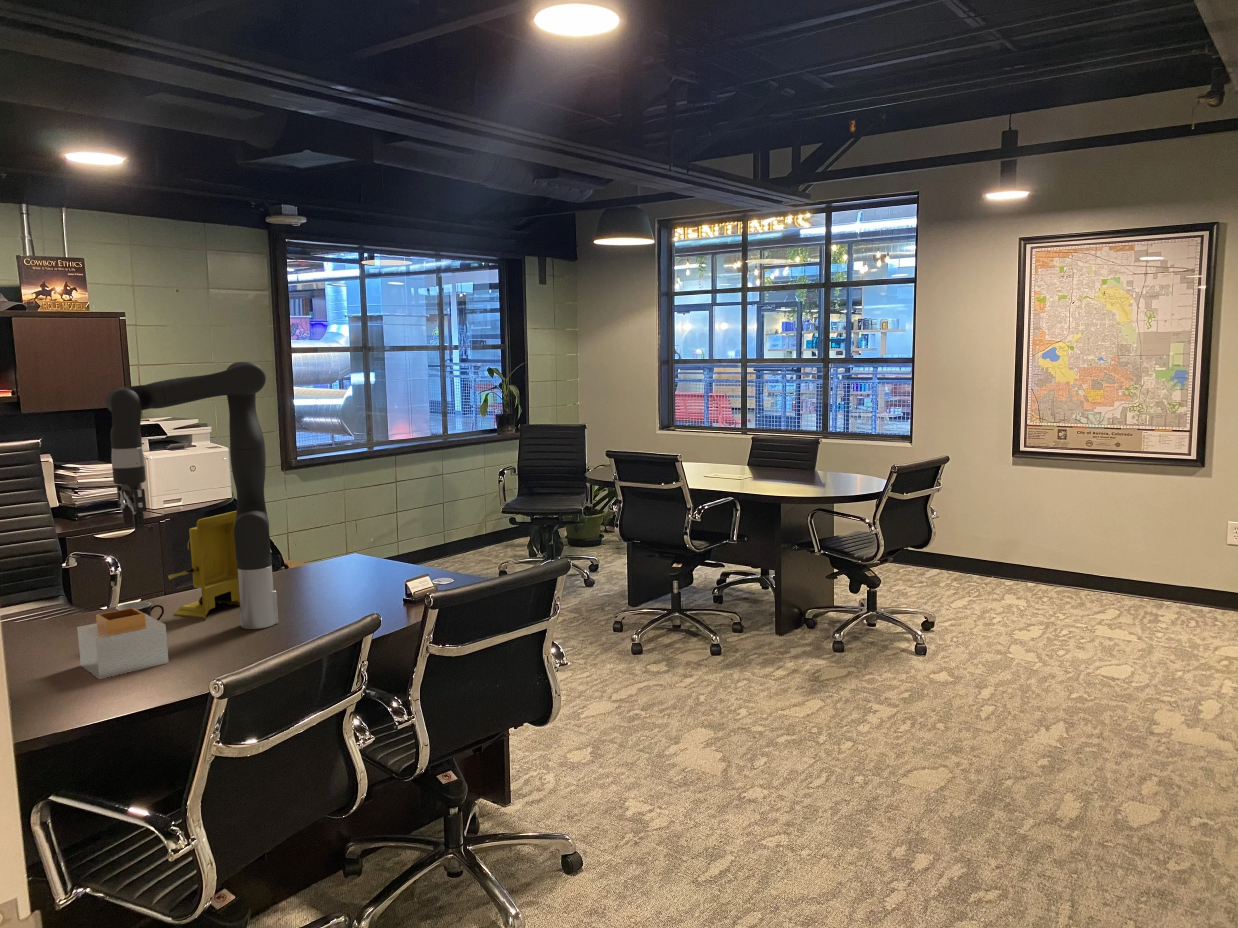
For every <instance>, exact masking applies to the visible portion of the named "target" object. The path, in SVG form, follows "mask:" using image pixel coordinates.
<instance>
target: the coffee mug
mask: <svg viewBox="0 0 1238 928" xmlns="http://www.w3.org/2000/svg"><path fill="white" fill-rule="evenodd" d="M128 608H135V609H137V610H139V611H140V612H142V613H144V614H147V615H149V616H150V617H152V611H153V610H154V609H155V608H160V610H161V613H160V615H159V616H158V617H157V618H156V620H158V621H160V620H161V618H162V617H163V615H164V613H165V608H164V607H163V606H162V605H160V604H154V605H153V606H152V602H149V601H133V602H132V601H131V602H127V603H123V604H119V605H118V606H115V611H118V610H123V609H128Z"/></svg>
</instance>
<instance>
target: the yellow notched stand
mask: <svg viewBox="0 0 1238 928" xmlns="http://www.w3.org/2000/svg"><path fill="white" fill-rule="evenodd" d="M236 514H237V510H234V511H230V512H225V513H221V514H217V515H213V516H209V517H208V516H207V517H203V518H200V519H198V520H197V521H196V526H195V527H191V528H189V530H188V531H189V532H188V533H189V540H188V542H187V549H188V550H187V551H188V552H189V554H190V556H191V557H190V558H191V568H190V569H187V570H183V571H181V572H178V573H173V574H172V573H171V574H169V575H168V580H172V579H174V578H177V577H179V576H180V577H181V576H185V575H189V574H190V573H192V583H193V585H192V586H193V588H194V589H195V588H196V589H201V597H200V598H199V600H196V601H194V602H192V603H191V602H190V603H188V604H185V605H181V606H180V607H179V608H178V610H176V611H175V612H174V613H173V615H174V616H181V617H189V618H198V619H203V621H205V620H206V621H207V614H208V613H209V611H210V610H212V609H214V608H216V604H222V603H228V604H227V605H232V604H234V606H240V601H239V586H238V572H237V561H236V552H235V540H234V525H235V521H236ZM216 602H218V603H216ZM219 602H220V603H219ZM235 604H236V605H235Z"/></svg>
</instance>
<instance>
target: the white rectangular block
mask: <svg viewBox="0 0 1238 928" xmlns="http://www.w3.org/2000/svg"><path fill="white" fill-rule="evenodd" d="M95 619H96V620H95V621H96V623H92V624H87V625H80V626H77V627H76V628H77V639H78V641H77V642H78V651H79V660H80V662H79V663H80V666H81V667H82V668H83V667H84V669H85V670H86V671H88V673H90V672H91V673H92V674H91V673H90V674H91V675H92V676H94V677H95V676H96V677H95V678H97V679H98V680H103V679H107V677H108V678H111V676H112V677H115V675H116V676H120V675H124V674H127V672H129V673H132V671H133V672H136V671H141V670H145V669H150V668H154V667H156V666H161V665H166V664H169V652H168V639H167V638H168V637H167V636H168V635H167V626H166V624H165V623H163V622H162V621H160V620H159V621H158V620H157V618H154V617H152V616H151V617H150V616H149V615H147V614H144V613H142V612H140V611H139V610H137V609H135V608H128V609H123V610H118V611H116V610H114V611H109V612H103V613H98V614H96V615H95ZM123 673H124V674H123ZM119 674H120V675H119Z"/></svg>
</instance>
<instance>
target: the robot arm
mask: <svg viewBox="0 0 1238 928" xmlns="http://www.w3.org/2000/svg"><path fill="white" fill-rule="evenodd" d="M266 379H267V377H266V373H265V371H264V370H263V368H262V367H261V366H259V365H258V364H256V363H254V362H251V361H237V362H233V363H231V364H230V365H229V366H228V367H227V368H226V369H225V370H222V371H218V372H215V373H214V372H213V373H208V374H203V375H193V376H186V377H185V376H183V377H177V378H176V377H175V378H169V379H164V380H159V381H154V382H151V383H147V384H141V385H140V384H139V385H134V386H133V385H131V386H123V387H119V388H115V389H113V390H111V391H109V393H107V395H106V397H105V406H106V408H107V410H109V411H110V412H111V419H112V420H111V423H112V427H111V429H110V444H111V457H110V458H111V468H112V470H111V471H112V479H113V481H112V482H113V484H115V485H117V486H116V492H117V493H116V494H117V506H118V508H120V511H122V512H121V513H122V514H121V515H122V523H123V525H127V526H128V525H132V524H133V527H134V528H135V529H144V527H145V519H144V514H145V513H146V512H147V509H148V508H147V502H146V493H145V492H146V490H145V488H140V485H139V484H142V483H145V482H146V480H147V477H146V476H147V475H146V465H145V455H144V454H145V453H144V450H143V442H142V433H141V423H142V422H141V421H142V419H141V418H142V411H146V410H150V409H152V410H153V409H154V410H155V409H164V408H169V407H174V406H179V405H183V404H187V403H192V402H196V401H199V400H204V399H210V398H215V397H222V396H226V400H227V404H228V412H229V413H228V414H229V416H228V418H229V420H228V421H229V424H228V425H229V426H228V427H229V429H228V430H229V451H230V452H229V453H230V454H229V455H230V457H229V458H230V465H231V471H232V472H231V473H232V477H233V482H234V485H235V490H236V511H237V514H236V521H235V525H234V540H235V552H236V561H237V572H238V586H239V601H240V605H239V612H240V613H239V615H240V625H241V628H242V629H244V630H246V629H247V630H257V629H265V628H268V627H269V628H270V627H272V626H274V625H276V624H279V611H278V598H277V597H278V595H277V590H274V581H273V565H272V551H271V539H270V538H271V537H270V521H269V518H268V516H269V515H268V512H267V506H266V500H265V499H266V498H265V482H266V481H265V480H266V469H267V468H266V465H267V464H266V463H267V458H266V445H265V444H266V443H265V438H264V433H263V429H262V426H261V424H260V422H259V418H258V413H257V408H256V407H257V405H256V404H257V402H256V401H257V399H256V394H257V393H259V392H260V391H261V390H263V388H264V386H265V384H266V382H267V381H266Z"/></svg>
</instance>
